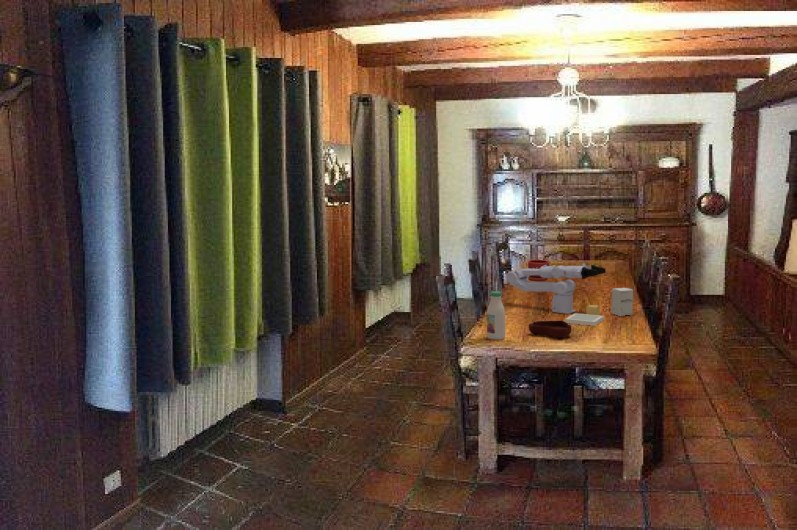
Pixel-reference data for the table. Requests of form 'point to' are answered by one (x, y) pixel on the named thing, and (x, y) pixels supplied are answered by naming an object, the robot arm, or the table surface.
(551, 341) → the table surface
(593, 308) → the block
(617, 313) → the supplement box
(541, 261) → the plant pot
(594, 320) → the base
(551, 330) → the ashtray
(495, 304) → the milk bottle
